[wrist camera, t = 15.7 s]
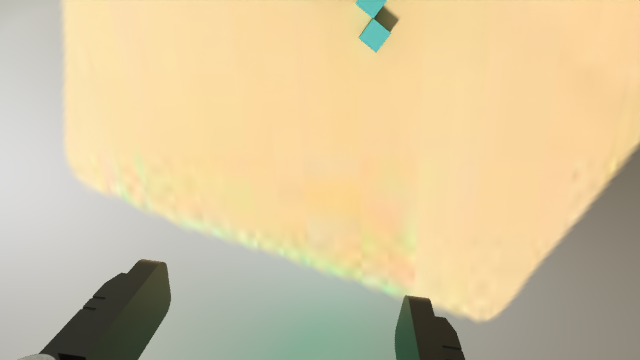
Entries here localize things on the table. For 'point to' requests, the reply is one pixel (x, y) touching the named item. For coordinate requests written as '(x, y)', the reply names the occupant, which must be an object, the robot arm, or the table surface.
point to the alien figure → (373, 24)
